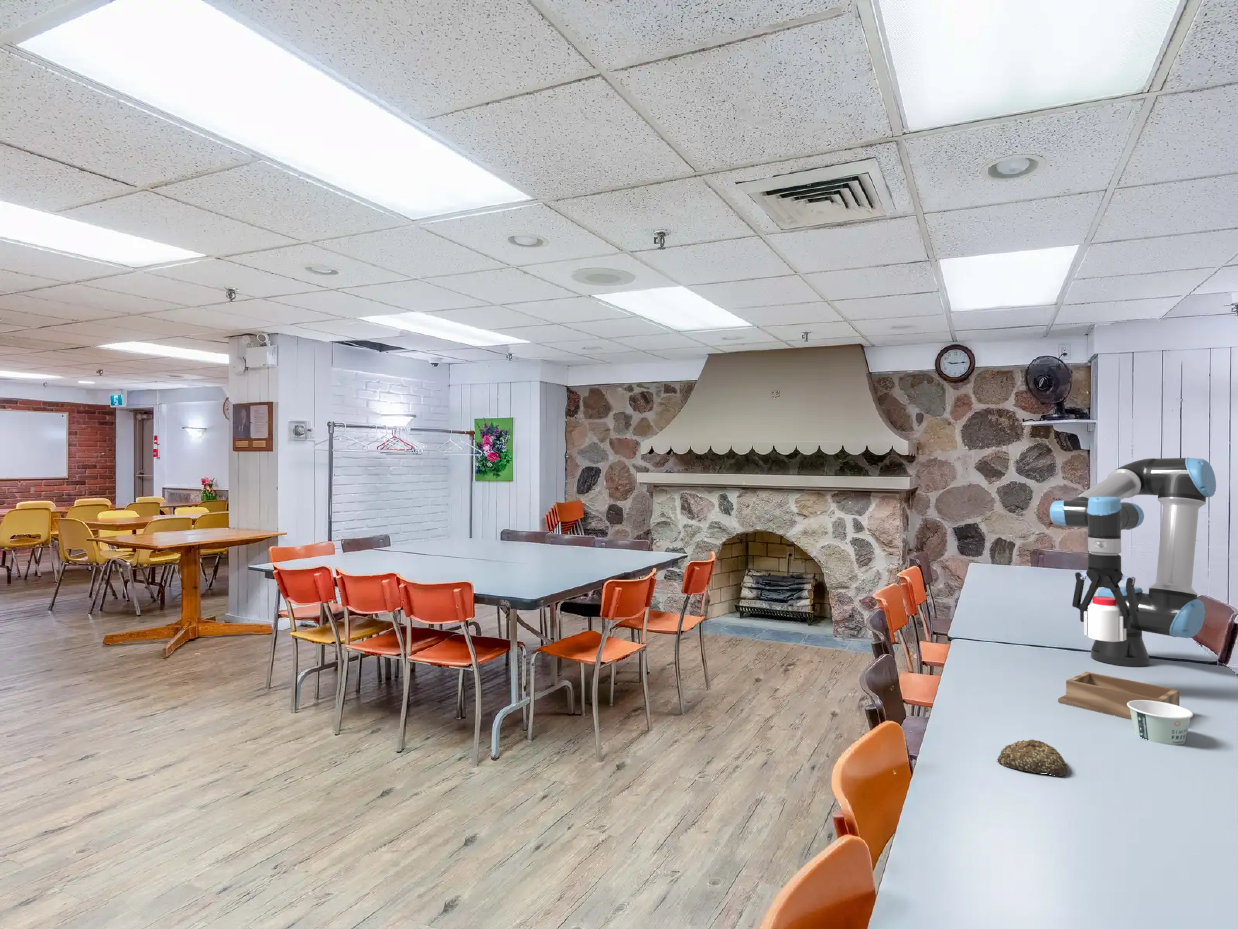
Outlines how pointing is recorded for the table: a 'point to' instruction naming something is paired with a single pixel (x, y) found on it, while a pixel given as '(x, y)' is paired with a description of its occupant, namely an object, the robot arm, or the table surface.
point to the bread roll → (1033, 758)
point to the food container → (1160, 721)
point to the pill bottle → (1104, 619)
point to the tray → (1112, 693)
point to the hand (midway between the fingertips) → (1104, 637)
